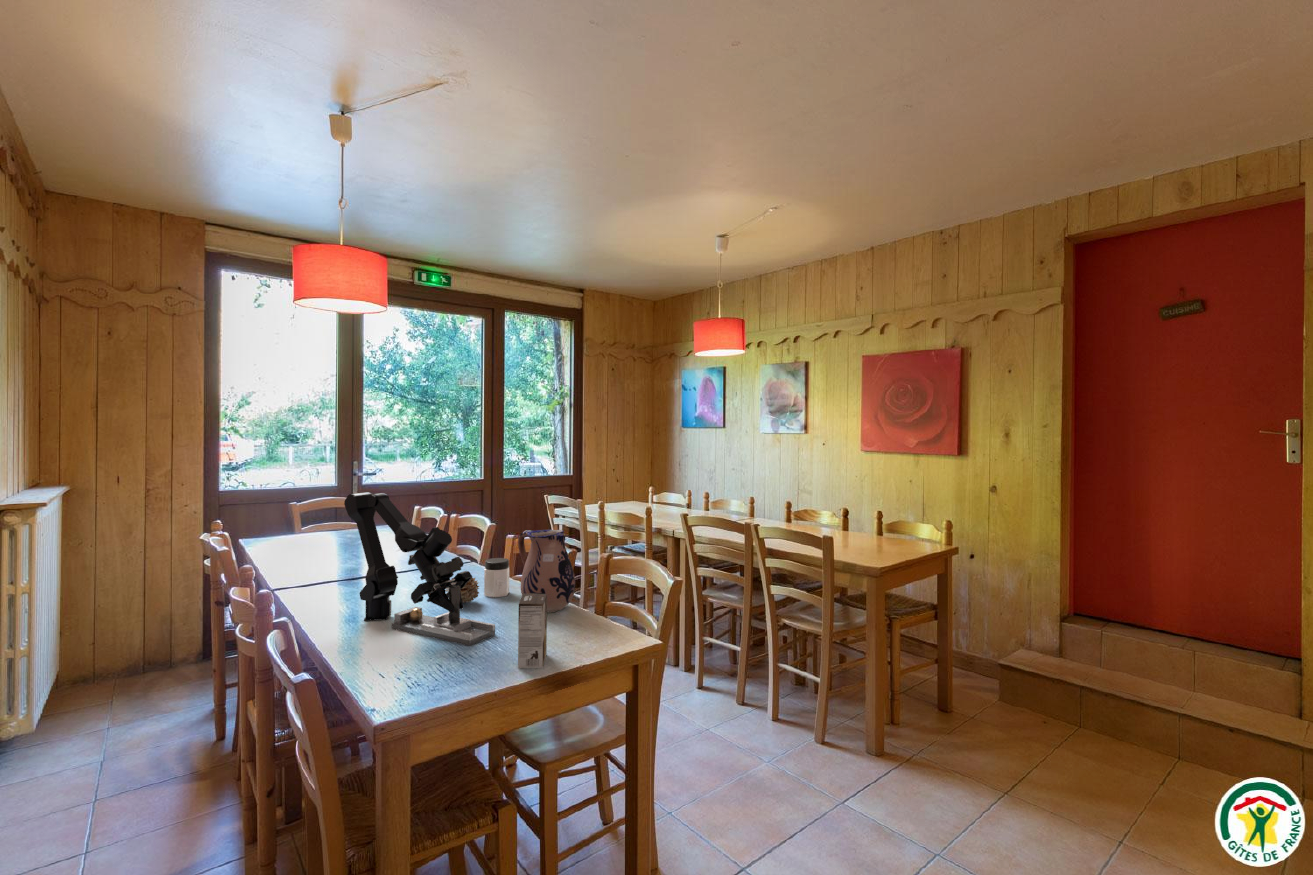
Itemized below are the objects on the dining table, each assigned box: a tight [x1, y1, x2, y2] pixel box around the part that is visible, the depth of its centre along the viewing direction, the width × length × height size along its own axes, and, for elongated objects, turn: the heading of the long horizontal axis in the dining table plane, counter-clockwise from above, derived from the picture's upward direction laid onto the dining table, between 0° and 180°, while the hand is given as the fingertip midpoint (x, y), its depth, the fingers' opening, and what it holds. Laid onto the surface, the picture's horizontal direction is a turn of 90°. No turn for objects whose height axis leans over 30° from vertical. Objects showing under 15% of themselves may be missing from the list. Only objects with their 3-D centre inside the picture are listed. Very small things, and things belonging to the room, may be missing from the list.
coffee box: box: [517, 593, 548, 669], centre depth 154 cm, size 9×6×16 cm
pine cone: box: [445, 577, 480, 604], centre depth 206 cm, size 22×10×10 cm, turn 49°
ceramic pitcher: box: [517, 529, 576, 613], centre depth 199 cm, size 18×21×25 cm
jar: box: [483, 557, 510, 598], centre depth 215 cm, size 9×8×12 cm
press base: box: [390, 606, 496, 647], centre depth 175 cm, size 30×10×5 cm, turn 64°
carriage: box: [433, 585, 472, 631], centre depth 173 cm, size 7×7×12 cm
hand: (458, 610), depth 172 cm, fingers closed on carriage, 3 cm apart
